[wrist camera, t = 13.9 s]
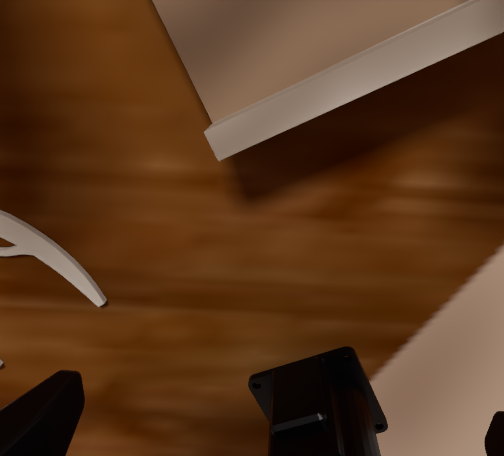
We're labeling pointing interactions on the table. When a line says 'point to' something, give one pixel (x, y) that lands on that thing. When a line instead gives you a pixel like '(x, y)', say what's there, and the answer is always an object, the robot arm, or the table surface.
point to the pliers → (46, 255)
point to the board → (309, 54)
